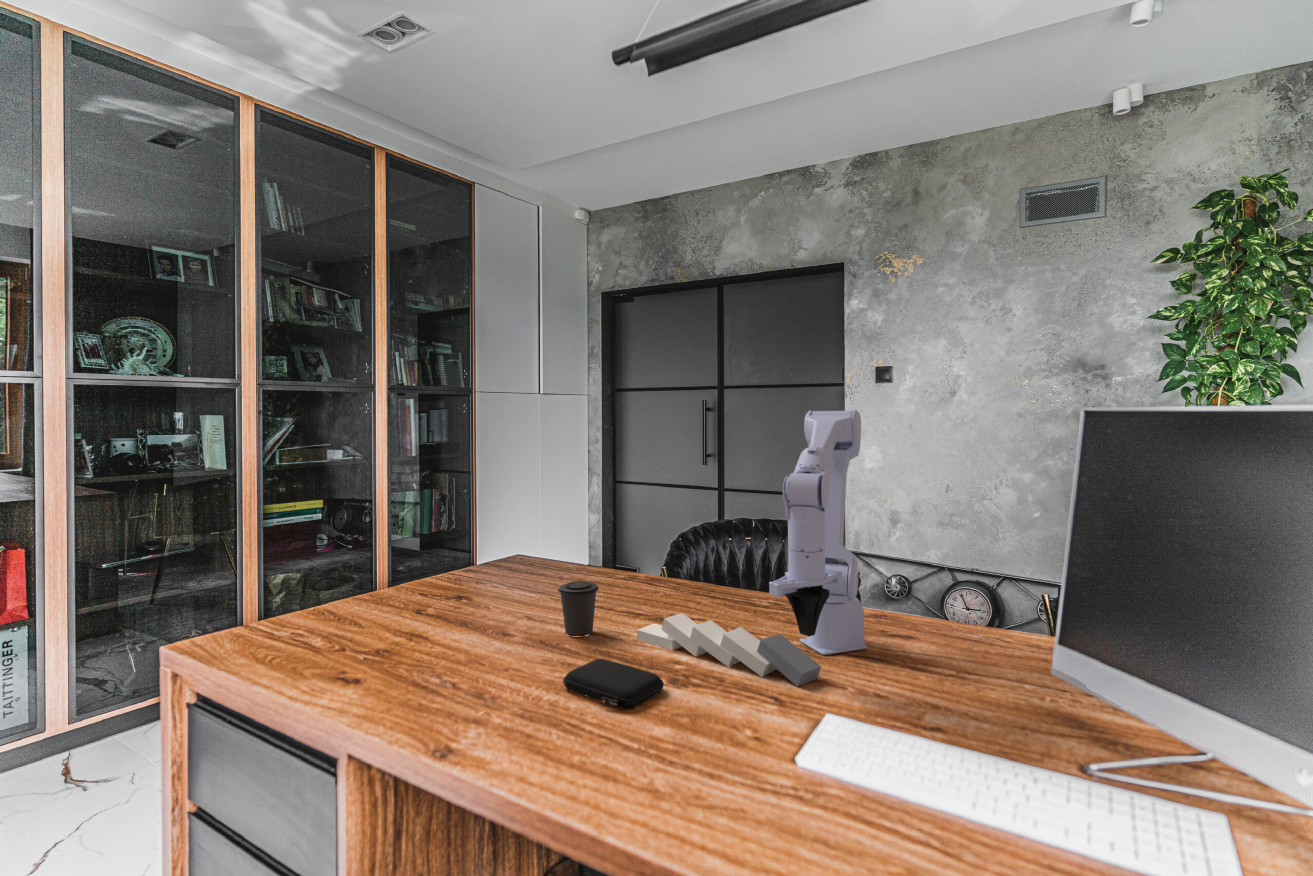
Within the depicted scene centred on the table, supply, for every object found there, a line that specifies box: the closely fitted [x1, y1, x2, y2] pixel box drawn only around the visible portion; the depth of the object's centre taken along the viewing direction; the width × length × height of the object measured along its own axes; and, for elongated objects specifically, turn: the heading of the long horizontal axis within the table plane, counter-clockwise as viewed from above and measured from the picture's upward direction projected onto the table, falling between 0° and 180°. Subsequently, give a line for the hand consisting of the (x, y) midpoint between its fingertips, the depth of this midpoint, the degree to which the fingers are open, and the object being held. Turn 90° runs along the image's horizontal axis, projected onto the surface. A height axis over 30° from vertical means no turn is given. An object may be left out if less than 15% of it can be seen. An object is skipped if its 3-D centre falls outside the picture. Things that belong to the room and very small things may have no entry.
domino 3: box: [690, 619, 741, 668], centre depth 111 cm, size 2×5×9 cm
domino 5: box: [757, 633, 822, 688], centre depth 103 cm, size 2×5×9 cm
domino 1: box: [636, 622, 683, 651], centre depth 120 cm, size 2×5×9 cm
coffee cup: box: [557, 580, 599, 636], centre depth 125 cm, size 8×8×10 cm
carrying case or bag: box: [562, 658, 665, 710], centre depth 98 cm, size 11×3×15 cm
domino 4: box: [720, 626, 777, 678], centre depth 107 cm, size 2×5×9 cm
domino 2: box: [661, 612, 708, 657], centre depth 116 cm, size 2×5×9 cm
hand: (807, 634), depth 100 cm, fingers closed
